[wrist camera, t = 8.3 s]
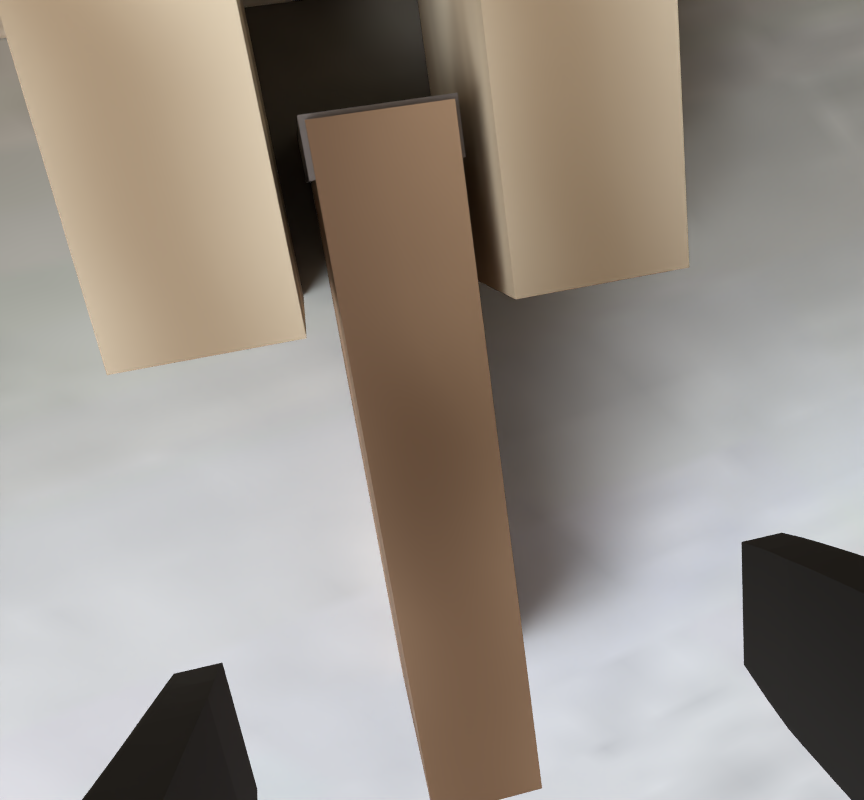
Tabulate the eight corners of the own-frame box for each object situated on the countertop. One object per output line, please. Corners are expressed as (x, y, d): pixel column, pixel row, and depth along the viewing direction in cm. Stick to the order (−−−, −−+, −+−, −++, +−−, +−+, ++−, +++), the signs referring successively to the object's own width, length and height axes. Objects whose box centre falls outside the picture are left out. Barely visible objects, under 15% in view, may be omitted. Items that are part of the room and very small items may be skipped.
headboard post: (769, -164, 16) (1109, -415, 9) (772, 212, 18) (1044, 226, 12) (-232, -56, 13) (-750, -296, 7) (-76, 362, 16) (-344, 489, 9)
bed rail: (413, 119, 16) (460, 91, 12) (489, 649, 21) (545, 787, 16) (296, 135, 16) (296, 113, 11) (398, 671, 20) (429, 818, 16)
